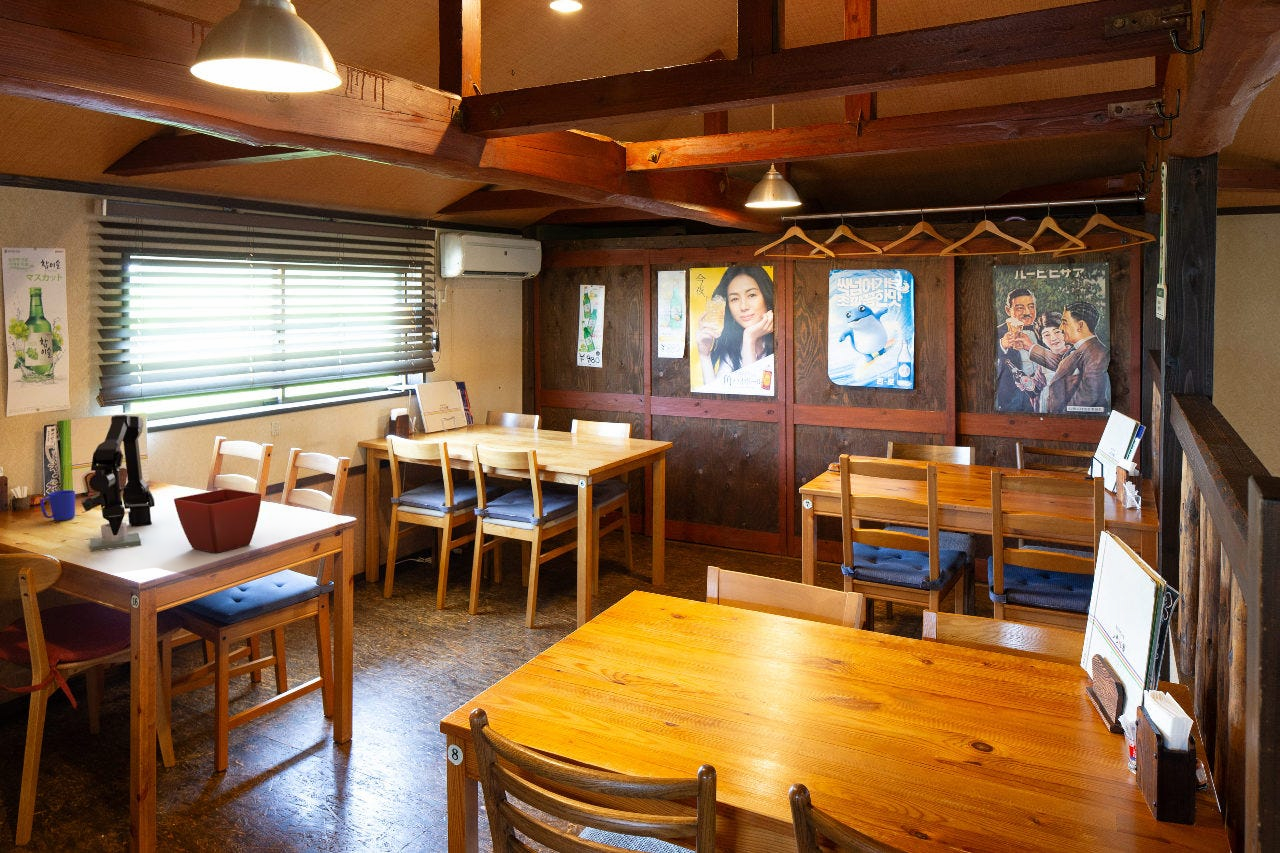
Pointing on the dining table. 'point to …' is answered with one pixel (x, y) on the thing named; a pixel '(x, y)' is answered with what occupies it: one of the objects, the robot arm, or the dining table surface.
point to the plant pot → (219, 519)
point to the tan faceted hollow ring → (108, 535)
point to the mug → (60, 505)
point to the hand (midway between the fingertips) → (114, 532)
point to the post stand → (131, 541)
